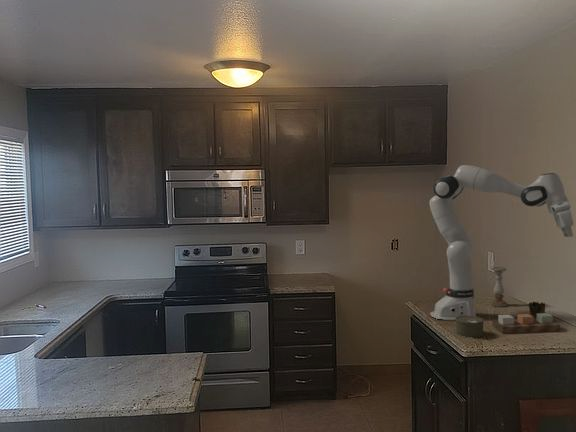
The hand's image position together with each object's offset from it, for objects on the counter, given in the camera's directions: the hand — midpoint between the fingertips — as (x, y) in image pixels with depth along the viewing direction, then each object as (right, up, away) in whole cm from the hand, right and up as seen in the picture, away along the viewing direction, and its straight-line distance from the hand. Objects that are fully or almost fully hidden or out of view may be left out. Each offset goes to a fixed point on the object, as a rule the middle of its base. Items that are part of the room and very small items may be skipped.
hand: (568, 236), depth 239 cm
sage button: (-7, -40, +7) cm, 41 cm away
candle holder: (-11, -39, +51) cm, 66 cm away
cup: (-4, -41, +22) cm, 47 cm away
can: (-44, -44, +3) cm, 62 cm away
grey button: (-25, -40, +7) cm, 48 cm away
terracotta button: (-16, -40, +7) cm, 44 cm away
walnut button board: (-16, -43, +7) cm, 46 cm away
